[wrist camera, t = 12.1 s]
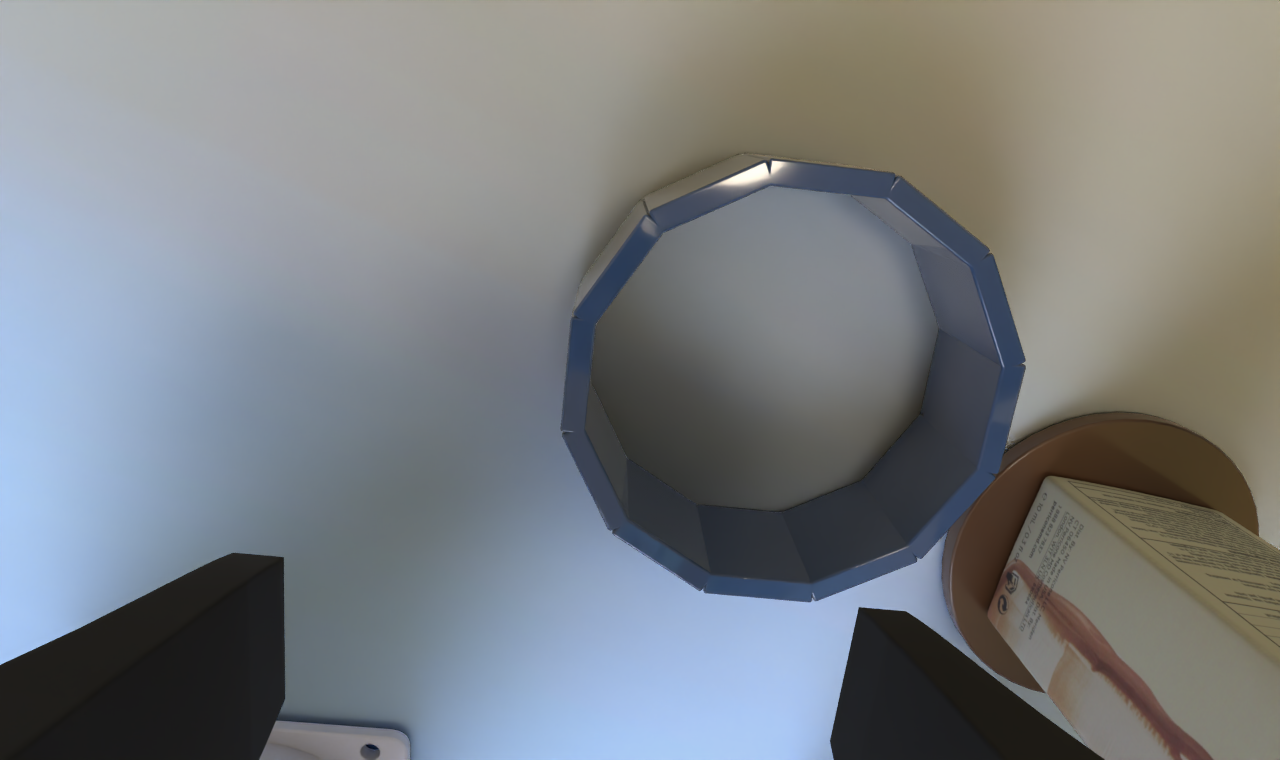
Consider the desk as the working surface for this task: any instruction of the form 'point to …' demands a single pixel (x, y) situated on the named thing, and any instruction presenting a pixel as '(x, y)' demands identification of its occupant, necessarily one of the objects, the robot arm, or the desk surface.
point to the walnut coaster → (1082, 451)
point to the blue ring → (901, 480)
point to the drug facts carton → (1146, 623)
